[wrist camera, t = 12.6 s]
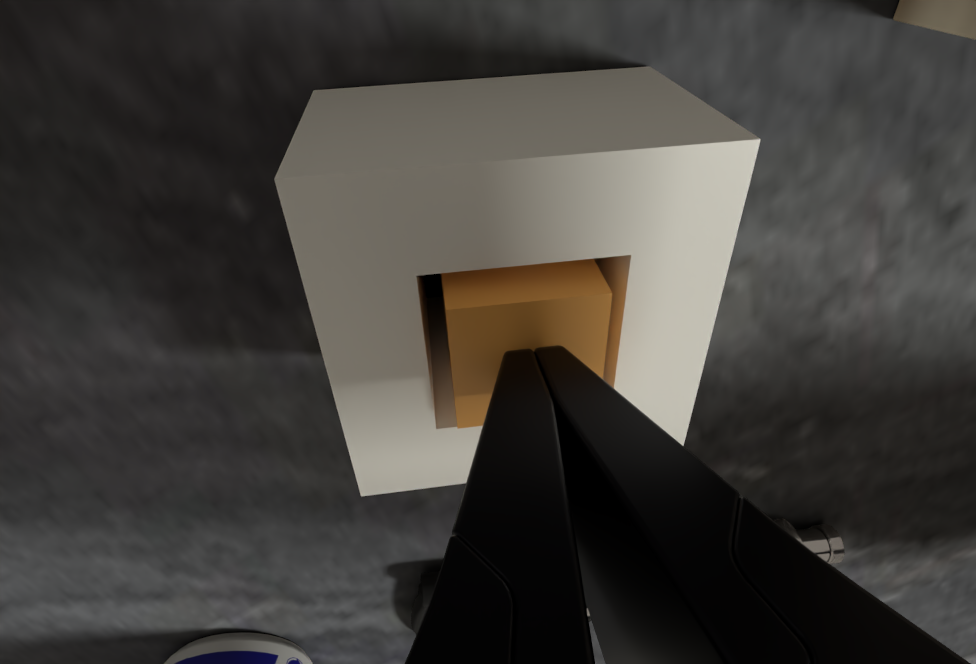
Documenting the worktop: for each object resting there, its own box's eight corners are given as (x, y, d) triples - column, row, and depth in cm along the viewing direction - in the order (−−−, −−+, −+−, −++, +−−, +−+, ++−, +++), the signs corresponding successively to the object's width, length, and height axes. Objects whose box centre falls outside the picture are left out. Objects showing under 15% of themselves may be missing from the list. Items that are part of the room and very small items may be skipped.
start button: (557, 307, 12) (599, 412, 9) (445, 319, 11) (457, 428, 9) (562, 202, 10) (612, 292, 8) (434, 213, 10) (445, 310, 8)
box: (616, 330, 14) (680, 456, 11) (369, 356, 14) (360, 496, 10) (649, 66, 10) (761, 138, 7) (313, 89, 10) (273, 178, 7)
